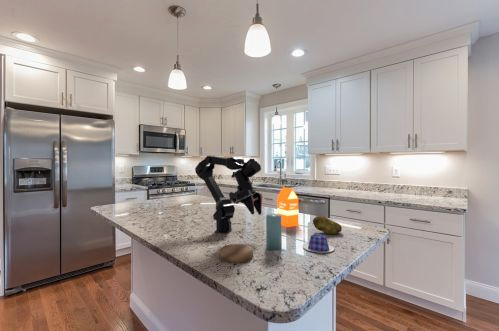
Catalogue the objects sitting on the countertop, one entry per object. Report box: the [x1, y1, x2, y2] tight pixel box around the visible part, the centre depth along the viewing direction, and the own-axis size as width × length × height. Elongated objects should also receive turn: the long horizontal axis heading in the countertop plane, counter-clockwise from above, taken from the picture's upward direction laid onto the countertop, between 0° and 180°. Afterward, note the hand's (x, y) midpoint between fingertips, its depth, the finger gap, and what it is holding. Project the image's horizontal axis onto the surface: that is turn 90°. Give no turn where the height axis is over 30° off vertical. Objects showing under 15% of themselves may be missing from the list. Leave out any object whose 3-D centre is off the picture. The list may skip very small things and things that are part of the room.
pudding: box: [302, 233, 335, 254], centre depth 99 cm, size 12×12×5 cm
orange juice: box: [276, 186, 300, 228], centre depth 137 cm, size 8×9×20 cm
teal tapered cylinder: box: [265, 213, 283, 252], centre depth 99 cm, size 6×6×13 cm
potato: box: [312, 215, 343, 235], centre depth 120 cm, size 8×13×8 cm, turn 63°
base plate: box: [219, 243, 254, 264], centre depth 91 cm, size 12×12×2 cm
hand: (256, 214), depth 109 cm, fingers open, 9 cm apart
